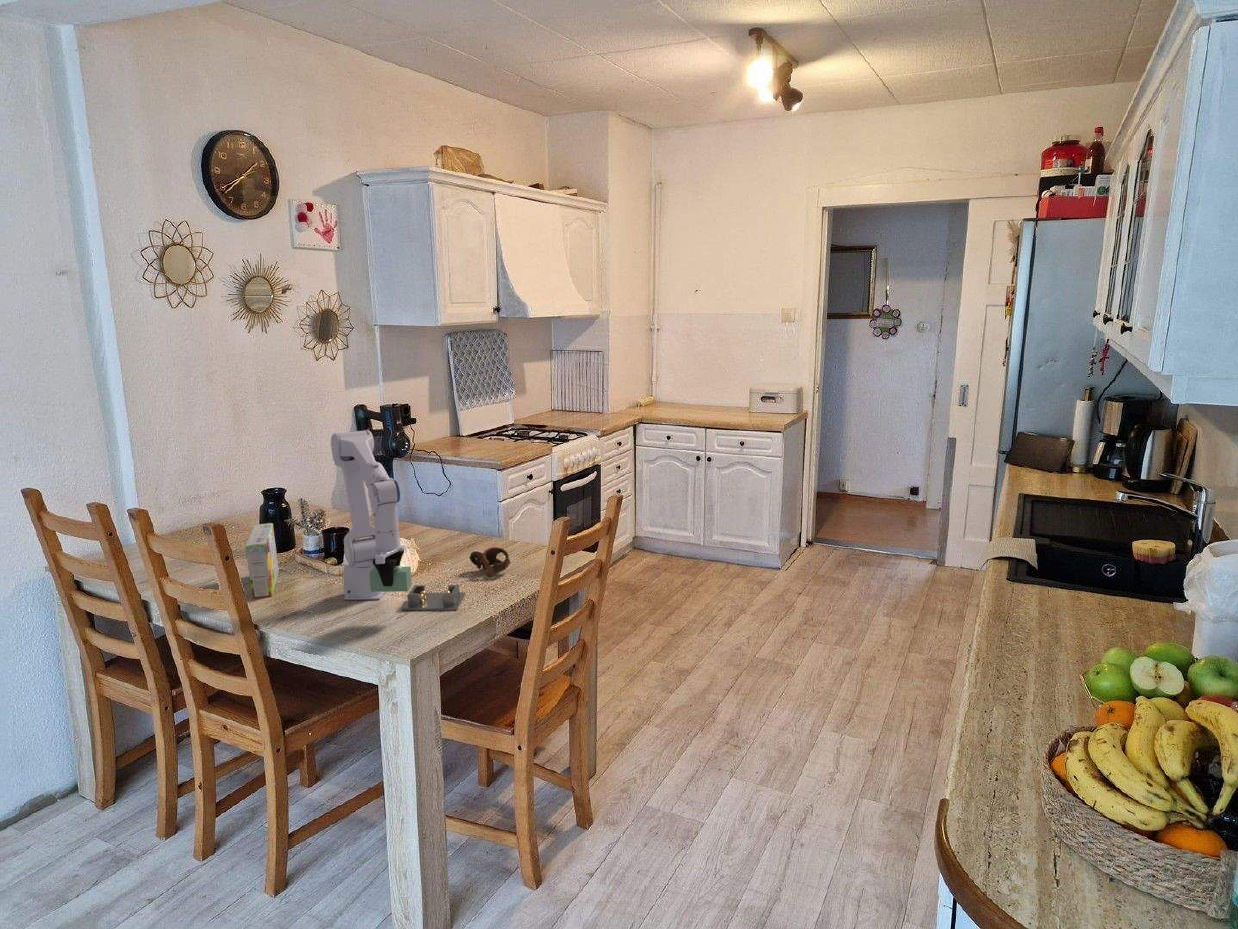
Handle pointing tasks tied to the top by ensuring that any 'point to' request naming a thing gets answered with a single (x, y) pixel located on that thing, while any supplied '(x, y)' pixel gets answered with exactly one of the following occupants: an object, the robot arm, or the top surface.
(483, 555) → the dark brown curved piece
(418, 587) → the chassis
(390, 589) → the green knobbed block
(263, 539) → the snack box
